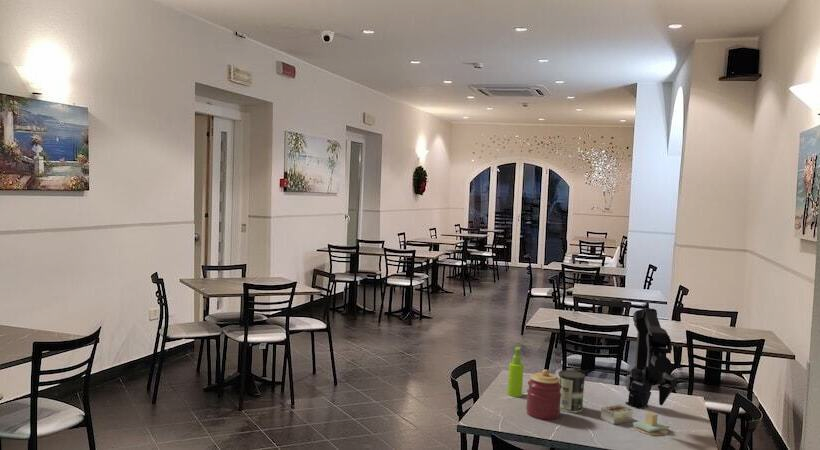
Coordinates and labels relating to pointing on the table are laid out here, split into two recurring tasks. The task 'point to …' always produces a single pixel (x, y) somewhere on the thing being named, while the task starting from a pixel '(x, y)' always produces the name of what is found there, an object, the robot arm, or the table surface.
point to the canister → (544, 395)
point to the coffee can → (571, 391)
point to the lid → (651, 423)
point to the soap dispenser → (515, 375)
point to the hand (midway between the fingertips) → (652, 406)
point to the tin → (616, 414)
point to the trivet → (656, 433)
